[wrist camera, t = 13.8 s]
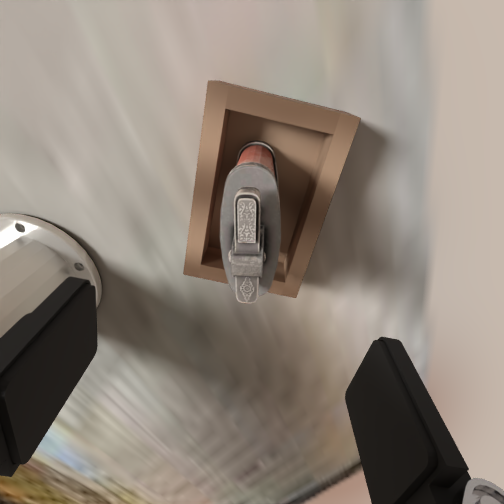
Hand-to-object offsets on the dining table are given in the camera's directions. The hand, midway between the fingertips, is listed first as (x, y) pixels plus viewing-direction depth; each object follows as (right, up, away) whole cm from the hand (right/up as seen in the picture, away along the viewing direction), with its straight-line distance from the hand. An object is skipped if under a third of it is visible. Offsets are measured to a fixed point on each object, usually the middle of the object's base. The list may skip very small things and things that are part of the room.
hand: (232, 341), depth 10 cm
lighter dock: (+1, +8, +14) cm, 16 cm away
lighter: (+1, +7, +13) cm, 15 cm away
